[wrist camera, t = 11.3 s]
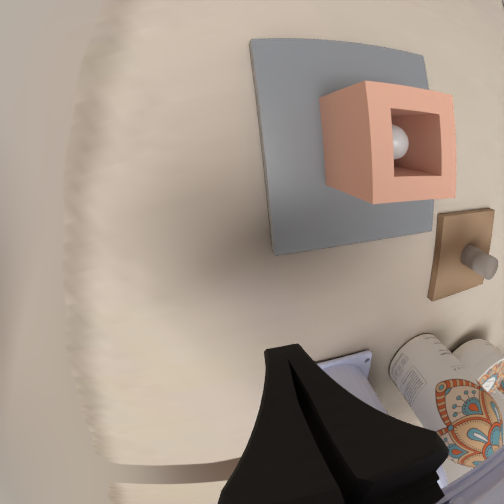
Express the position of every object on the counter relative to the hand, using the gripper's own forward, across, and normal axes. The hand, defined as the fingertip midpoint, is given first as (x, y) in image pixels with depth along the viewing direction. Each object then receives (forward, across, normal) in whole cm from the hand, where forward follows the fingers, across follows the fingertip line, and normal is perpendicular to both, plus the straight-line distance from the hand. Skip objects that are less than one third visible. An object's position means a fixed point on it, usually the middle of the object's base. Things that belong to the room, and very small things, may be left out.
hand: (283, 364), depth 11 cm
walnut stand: (+10, -20, +2) cm, 22 cm away
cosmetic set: (+10, -24, +18) cm, 32 cm away
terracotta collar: (+9, -8, -8) cm, 14 cm away
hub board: (+10, -8, -8) cm, 15 cm away
